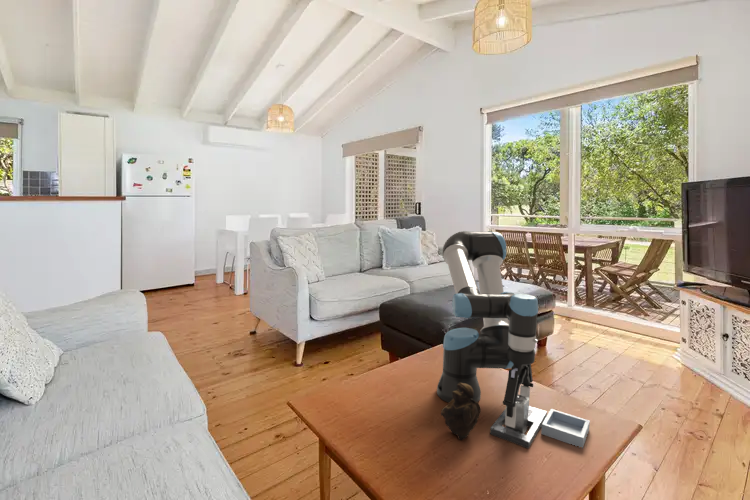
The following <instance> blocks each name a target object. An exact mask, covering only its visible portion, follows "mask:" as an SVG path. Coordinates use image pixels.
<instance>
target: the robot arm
mask: <svg viewBox="0 0 750 500" xmlns="http://www.w3.org/2000/svg"><path fill="white" fill-rule="evenodd" d="M442 257H443V261H444V262H445V263H446V264H447V265H448V269H449V274H450V278H451V281H452V284H453V288H454V291H455V294H453V296H452V299H451V300H452V301H451V308H452V314H453V315H454V317H456V318H464V319H476V318H477V319H483V327H482V328H481V329H480V333H479V332H478V330H477V329H474V328H471V327H470V328H469V327H456V328H453V329H450V330H448V331H447V332H446V333H445V335H444V337H443V344H442V348H443V349H442V350H443V352H442V353H443V354H442V372H441V375H440V378H439V381H438V383H437V387H436V393H437V396H438V397H439V398H440V399H441V400H442V401H444V402H446V403H447V404H449V402H450V401H451V400H452V399H454V398H453V394H452V392H453V391H456V390H458V387H457V385H458V383H465V384H468V385H470V386H471V387H472V389H473V391H474V396H473V400H474V401H475V402H478V403H479V402H480V400H481V395H482V392H481V390H482V389H481V387H480V384H479V380H478V377H477V371H478V369H503V370H506V369H509V370H508V375H507V376H508V377H507V382H506V388H505V391H504V392H505V393H504V397H503V401H502V405H504V406H505V409H506V413H505V423H504V425H505V426H506V425H507V426H510V427H512V428H515V423H516V405H515V404H516V400H517V396H518V395H522V396H524V397H528V398H529V399H530V398H531V397H530V396H531V395H530V394H531V388H533V387H534V383H533V372H532V371H533V370H532V365H533V364H534V363H535V359H536V351H535V348H536V344H538V343H539V342H538V339H537V337H536V336H537V323H538V314H539V301H538V298H537V297H536V296H534V295H531V294H528V293H513V292H511V291H504V287H503V279H502V274H501V265H502V264H503V262H504V260H505V259H506V257H507V243H506V240H505V238H504V236H503V235H502V233H500V232H497V231H489V230H488V231H466V230H463V231H459V232H455V233H454V234H452V235H450V236H449V237H448V238H447V239H446V241H445V242H444V244H443V247H442ZM469 261H472V262H471V263H472V266H473V267H474V268H475V269H476V271H477V278H478V279H477V280H478V284H477V282H476V279H475V278H476V277H475V276H474V273H473V271H472V267H471V265H470V262H469Z"/></svg>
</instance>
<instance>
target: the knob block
mask: <svg viewBox="0 0 750 500" xmlns="http://www.w3.org/2000/svg"><path fill="white" fill-rule="evenodd" d="M515 405H516V423H515V428H512V427H510V426H507V425H505V427H506V428H509V429H512V430H514V431H517V432H520V433H523V434H525V433H526V432H527V430H528V411H529V406H530V398H528V397H524V396H522V395H520V394H518V396H517V400H516V404H515ZM525 435H526V434H525Z"/></svg>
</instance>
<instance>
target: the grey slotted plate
mask: <svg viewBox="0 0 750 500" xmlns="http://www.w3.org/2000/svg"><path fill="white" fill-rule="evenodd" d="M505 413H506V408H505V409H504V410H503V411H502V413H500V415H499V416H498V418H497V419H496V420H495V421H494V423H493V424H492V425H491V426H490V428H489V429H490V430H489V435H492V436H493V437H497V438H499V439H502V440H505V441H508V442H510V443H512V444H515V445H517V446H520V447H523V448H526V449H528V450H529V449H530V447H531V445H532V443H533V442H534V440H535V438H536V436H537V435H538V433H539V431H540V430H541V429H542V423H543V421H544V420H545V418H546V416H547V414H548V411H547V410H544V409H541V408H537V407H534V406H531V405H529V411H528V426H527V428H529V430H528V432H527V434H523V433H520V432H517V431H514V430H512V429H509V428H506V426H504V425H505Z"/></svg>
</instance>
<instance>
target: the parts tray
mask: <svg viewBox="0 0 750 500" xmlns="http://www.w3.org/2000/svg"><path fill="white" fill-rule="evenodd" d="M590 423H591V420H589V419H585V418H582V417H579V416H576V415H574V414H570V413H567V412H563V411H561V410H557V409H554V408H550V410H549V411H548V412H547V416H546V418H545V420H544V421H543V423H542V426H541V429H540V430H541V432H540V434H541V435H544V436H546V437H549V438H552V439H555V440H558V441H560V442H563V443H565V444H569V445H571V444H572V445H571V446H574V445H575V447H577V446H579V447H578V448H580V447H582V448H581V449H584V446H585V443H586V440H587V438H588V435H587V434H589V432H590ZM586 437H587V438H586Z"/></svg>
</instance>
